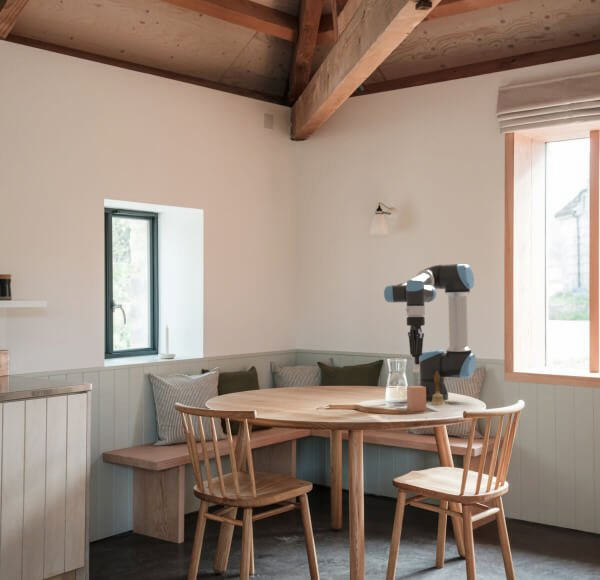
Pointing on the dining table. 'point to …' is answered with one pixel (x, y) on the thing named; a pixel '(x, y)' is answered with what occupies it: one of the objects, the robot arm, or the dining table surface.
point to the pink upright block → (416, 398)
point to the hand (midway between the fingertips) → (416, 372)
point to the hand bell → (437, 391)
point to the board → (416, 411)
